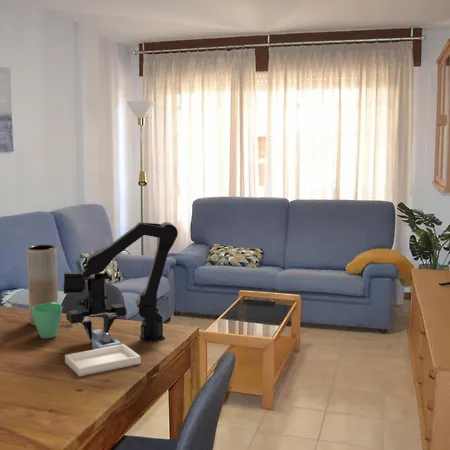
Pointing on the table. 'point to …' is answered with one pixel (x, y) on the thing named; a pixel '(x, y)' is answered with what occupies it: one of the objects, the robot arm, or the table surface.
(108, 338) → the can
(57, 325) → the mug
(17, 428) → the table surface
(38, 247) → the vase
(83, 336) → the table surface
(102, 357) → the tray
